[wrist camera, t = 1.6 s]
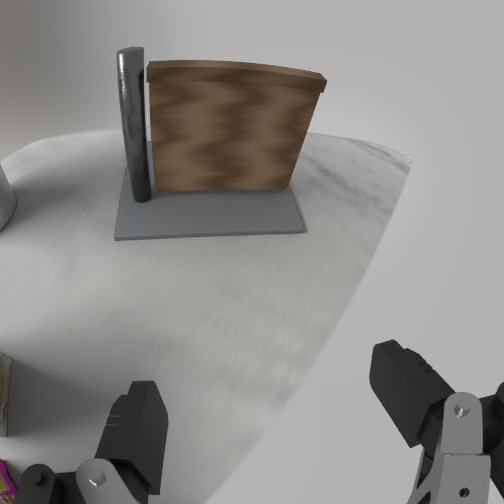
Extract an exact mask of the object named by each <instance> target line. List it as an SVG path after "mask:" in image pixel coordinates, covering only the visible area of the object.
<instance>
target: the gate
mask: <svg viewBox="0 0 504 504" xmlns="http://www.w3.org/2000/svg"><path fill="white" fill-rule="evenodd" d="M147 82H149V99H150V126H151V143H152V157H153V170H154V181H155V191H156V192H159V191H184V190H236V189H254V190H287V187H288V184H289V181H290V179H291V176H292V173H293V170H294V167H295V164H296V162H297V159H298V156H299V153H300V150H301V147H302V144H303V142H304V139H305V136H306V133H307V130H308V127H309V124H310V121H311V119H312V116H313V112H314V110H315V107H316V104H317V101H318V98H319V95H320V92H321V93H323V92H324V89H325V86H326V84H327V80H326V79H325V78H324V77H323V76H322V75H321V74H320V73H316V72H311V71H305V70H299V69H294V68H287V67H281V66H273V65H265V64H256V63H245V62H232V61H211V60H171V61H152V62H151V61H150V62H149V64H148V66H147Z"/></svg>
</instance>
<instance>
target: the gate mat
mask: <svg viewBox="0 0 504 504" xmlns="http://www.w3.org/2000/svg"><path fill="white" fill-rule="evenodd" d="M147 149H148V161H149V171H150V181H151V190H152V197H151V199H150V200H149V201H147V202H145V203H138V202H136V201H134V199H133V194H132V188H131V183H130V177H129V171H128V165H127V167H126V171H125V176H124V181H123V186H122V191H121V197H120V202H119V208H118V214H117V221H116V228H115V235H114V238H115V241H117V240H136V239H156V238H177V237H200V236H226V235H254V234H287V233H303V232H304V228H303V225H302V222H301V219H300V216H299V213H298V210H297V207H296V204H295V201H294V199H293V196H292V193H291V190H290V187H289V184H288V187H287V190H254V189H236V190H184V191H159V192H156V191H155V181H154V170H153V157H152V143H151V141H147Z"/></svg>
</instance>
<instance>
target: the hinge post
mask: <svg viewBox="0 0 504 504" xmlns="http://www.w3.org/2000/svg"><path fill="white" fill-rule="evenodd" d="M117 71H118V87H119V99H120V110H121V119H122V128H123V137H124V144H125V151H126V158H127V165H128V171H129V177H130V183H131V188H132V194H133V199H134V201H136V202H138V203H145V202H147V201H149V200H150V199H151V197H152V190H151V181H150V171H149V161H148V149H147V136H146V121H145V99H144V48H142V47H130V48H125V49H122V50H120V51H118V52H117Z"/></svg>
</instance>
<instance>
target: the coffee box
mask: <svg viewBox="0 0 504 504" xmlns="http://www.w3.org/2000/svg"><path fill="white" fill-rule="evenodd" d="M11 364H12V358H11V357H9V356H7V355H5V354H4V353H2V352H0V436H1V437H6V428H7V402H8V390H9V380H10V372H11Z"/></svg>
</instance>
